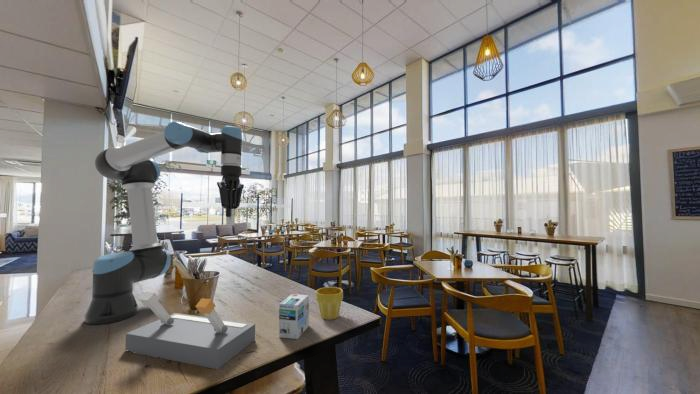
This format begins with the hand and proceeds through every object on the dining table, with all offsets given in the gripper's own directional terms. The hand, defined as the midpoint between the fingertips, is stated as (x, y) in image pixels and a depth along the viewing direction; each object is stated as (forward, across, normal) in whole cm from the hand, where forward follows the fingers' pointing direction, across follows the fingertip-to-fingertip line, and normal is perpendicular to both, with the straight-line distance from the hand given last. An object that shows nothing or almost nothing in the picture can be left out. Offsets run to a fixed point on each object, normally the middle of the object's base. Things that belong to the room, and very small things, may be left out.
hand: (230, 225), depth 109 cm
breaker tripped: (+28, -24, -17) cm, 41 cm away
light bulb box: (+35, -7, -32) cm, 48 cm away
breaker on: (+28, -24, +3) cm, 37 cm away
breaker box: (+34, -24, -7) cm, 43 cm away
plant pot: (+35, +8, -39) cm, 53 cm away
